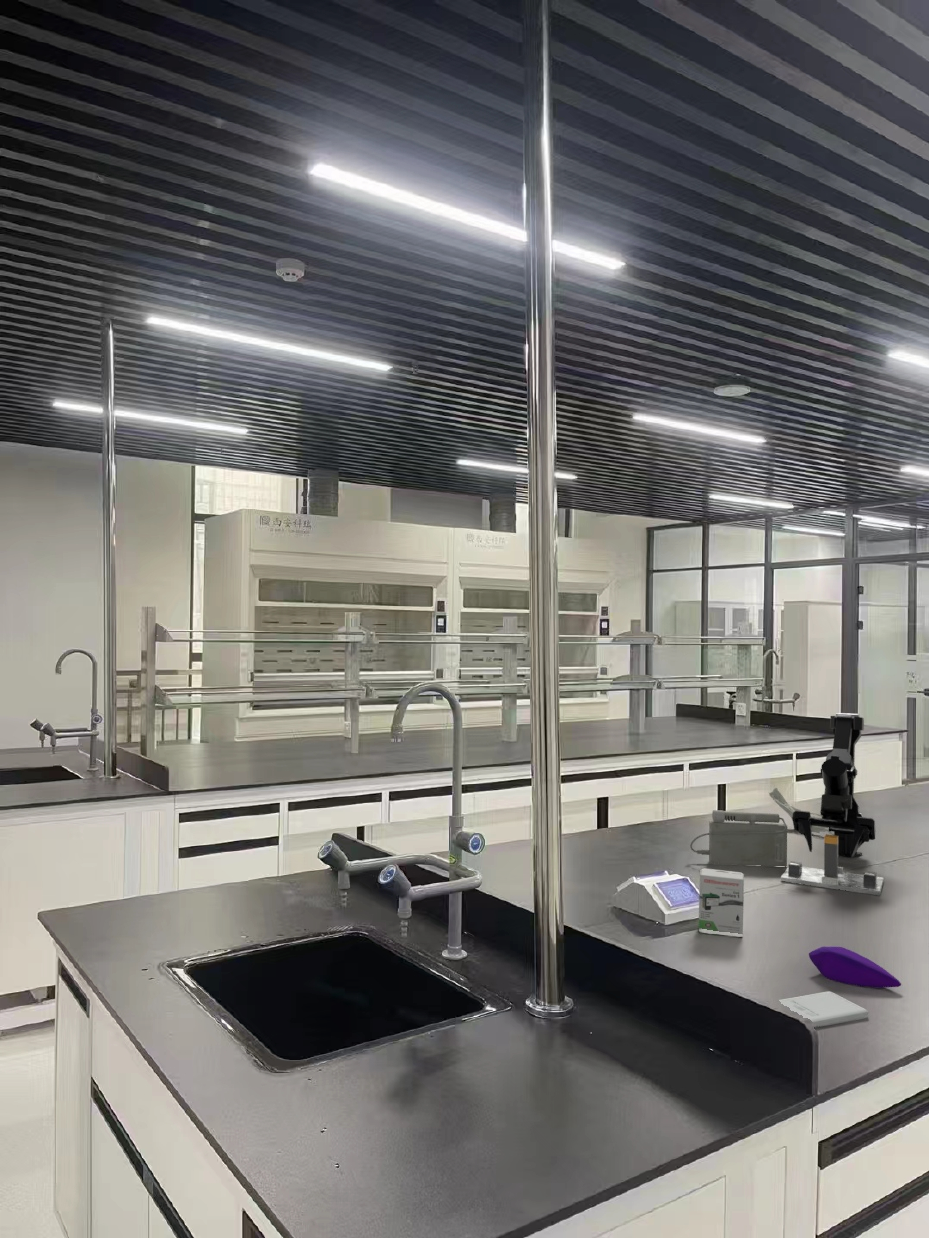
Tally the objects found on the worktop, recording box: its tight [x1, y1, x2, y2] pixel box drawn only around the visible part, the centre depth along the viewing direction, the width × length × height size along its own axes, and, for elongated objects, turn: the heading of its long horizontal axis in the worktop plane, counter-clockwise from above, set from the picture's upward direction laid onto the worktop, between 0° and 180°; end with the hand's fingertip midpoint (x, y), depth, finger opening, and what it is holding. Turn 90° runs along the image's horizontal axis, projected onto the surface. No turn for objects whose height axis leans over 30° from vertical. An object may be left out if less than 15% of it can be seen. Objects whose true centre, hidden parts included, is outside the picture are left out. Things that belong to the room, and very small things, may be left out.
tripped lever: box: [823, 834, 839, 877], centre depth 209 cm, size 3×3×10 cm
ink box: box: [698, 867, 745, 935], centre depth 172 cm, size 9×5×12 cm, turn 73°
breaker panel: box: [780, 861, 885, 897], centre depth 211 cm, size 14×22×4 cm, turn 61°
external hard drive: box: [778, 990, 869, 1028], centre depth 134 cm, size 2×8×12 cm
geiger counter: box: [689, 809, 788, 867], centre depth 226 cm, size 14×6×25 cm
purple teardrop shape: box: [808, 946, 902, 989], centre depth 147 cm, size 5×5×15 cm
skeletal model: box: [768, 787, 834, 835], centre depth 271 cm, size 16×9×25 cm
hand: (830, 853), depth 208 cm, fingers open, 9 cm apart
